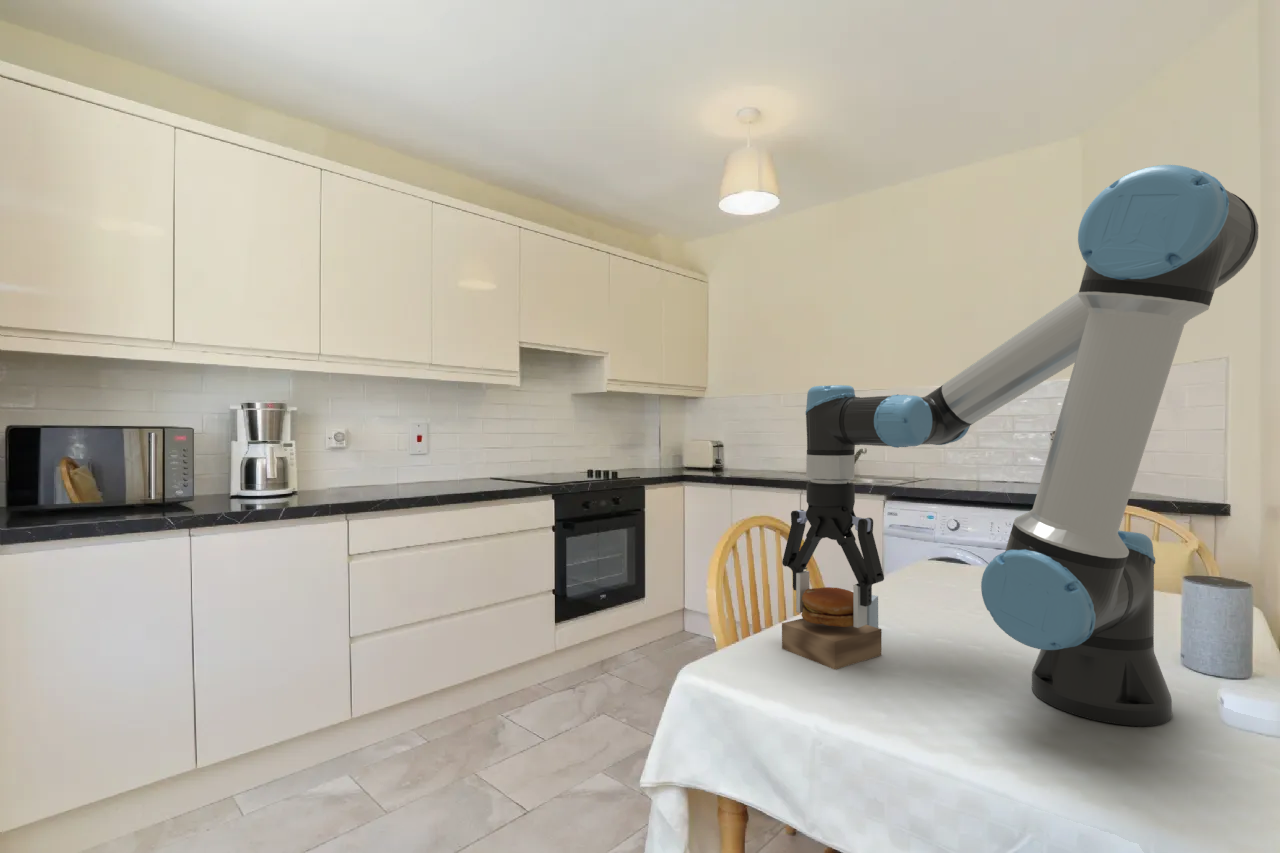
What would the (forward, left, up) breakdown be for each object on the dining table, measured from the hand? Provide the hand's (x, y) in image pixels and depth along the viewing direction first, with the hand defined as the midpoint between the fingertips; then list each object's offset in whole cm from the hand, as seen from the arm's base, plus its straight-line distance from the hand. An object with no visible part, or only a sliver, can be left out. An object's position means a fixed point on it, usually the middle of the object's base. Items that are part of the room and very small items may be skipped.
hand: (830, 617), depth 105 cm
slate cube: (+3, -13, -6) cm, 14 cm away
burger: (0, 0, 0) cm, 0 cm away
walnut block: (0, 0, -6) cm, 6 cm away
